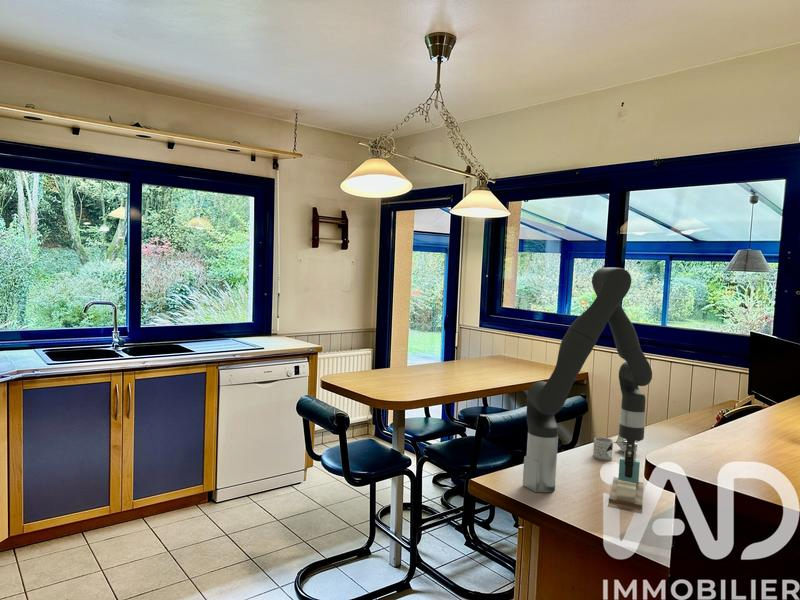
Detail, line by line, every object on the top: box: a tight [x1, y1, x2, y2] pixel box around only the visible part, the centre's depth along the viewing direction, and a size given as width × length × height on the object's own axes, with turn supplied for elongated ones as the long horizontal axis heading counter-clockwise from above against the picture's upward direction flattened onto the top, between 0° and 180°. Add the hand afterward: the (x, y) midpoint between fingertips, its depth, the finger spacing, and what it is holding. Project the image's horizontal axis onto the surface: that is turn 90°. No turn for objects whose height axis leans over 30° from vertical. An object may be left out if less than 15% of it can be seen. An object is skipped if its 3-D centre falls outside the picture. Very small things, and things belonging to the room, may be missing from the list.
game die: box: [613, 435, 641, 454], centre depth 204 cm, size 9×8×10 cm
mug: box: [592, 436, 614, 461], centre depth 198 cm, size 10×7×7 cm
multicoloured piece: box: [607, 456, 645, 514], centre depth 159 cm, size 26×9×8 cm, turn 154°
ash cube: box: [616, 480, 636, 503], centre depth 154 cm, size 5×5×5 cm
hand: (628, 475), depth 170 cm, fingers closed on multicoloured piece, 2 cm apart
